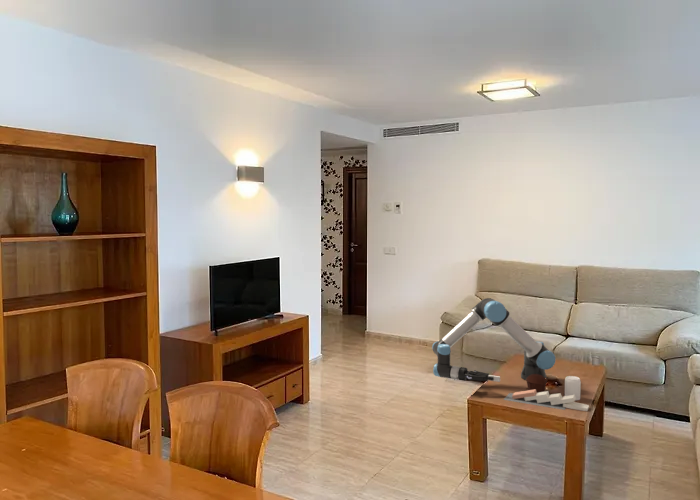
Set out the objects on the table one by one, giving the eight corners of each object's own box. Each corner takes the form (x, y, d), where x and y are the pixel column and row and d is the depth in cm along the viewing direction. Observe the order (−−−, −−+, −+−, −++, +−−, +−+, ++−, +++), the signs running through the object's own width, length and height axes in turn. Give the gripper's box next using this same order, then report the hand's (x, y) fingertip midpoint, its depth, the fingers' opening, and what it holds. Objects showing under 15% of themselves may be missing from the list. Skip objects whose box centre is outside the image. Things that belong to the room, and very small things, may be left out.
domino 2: (524, 397, 300) (546, 394, 294) (526, 394, 306) (548, 391, 300) (525, 401, 300) (547, 397, 294) (527, 397, 305) (549, 394, 299)
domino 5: (563, 403, 290) (587, 408, 284) (565, 400, 295) (589, 405, 289) (562, 407, 290) (587, 412, 284) (564, 403, 296) (588, 408, 290)
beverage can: (569, 395, 311) (569, 374, 310) (583, 399, 304) (583, 378, 303) (561, 398, 306) (562, 377, 305) (575, 402, 299) (575, 381, 298)
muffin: (548, 390, 319) (549, 373, 319) (544, 396, 310) (545, 378, 309) (527, 387, 325) (528, 370, 325) (523, 392, 316) (523, 375, 315)
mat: (509, 393, 314) (509, 392, 314) (568, 403, 298) (568, 402, 298) (503, 400, 303) (503, 399, 303) (564, 410, 287) (564, 409, 287)
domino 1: (512, 395, 304) (533, 392, 298) (514, 392, 309) (535, 389, 303) (513, 399, 304) (534, 395, 298) (515, 395, 309) (536, 392, 303)
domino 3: (536, 399, 297) (558, 396, 291) (538, 396, 302) (560, 393, 296) (537, 403, 297) (559, 400, 291) (539, 399, 302) (561, 396, 296)
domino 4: (550, 401, 294) (572, 397, 288) (552, 398, 299) (574, 394, 293) (551, 405, 293) (574, 401, 287) (553, 402, 298) (575, 398, 293)
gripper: (463, 376, 327) (502, 382, 316) (455, 382, 316) (496, 388, 304) (463, 364, 327) (503, 369, 315) (455, 369, 316) (496, 375, 304)
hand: (499, 379), depth 310 cm, fingers closed
